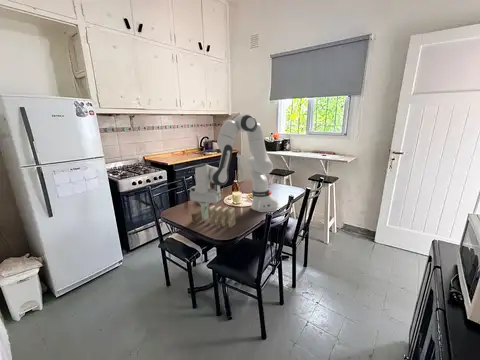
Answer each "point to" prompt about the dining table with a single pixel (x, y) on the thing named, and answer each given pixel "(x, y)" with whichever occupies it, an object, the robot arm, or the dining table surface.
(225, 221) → the maple domino
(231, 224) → the maple domino
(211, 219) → the maple domino
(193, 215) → the end stop
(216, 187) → the coffee box
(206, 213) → the sage domino
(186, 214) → the dining table surface
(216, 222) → the maple domino
